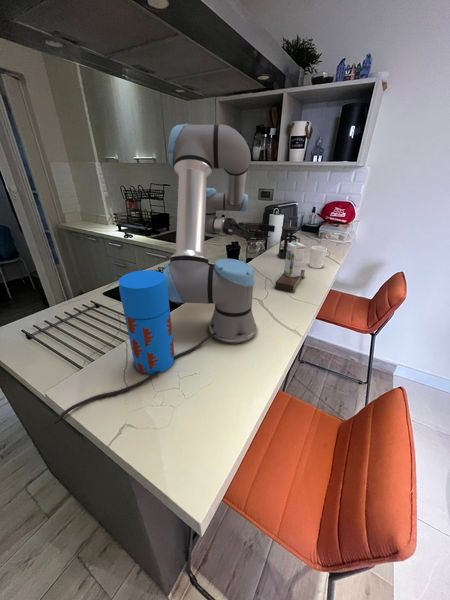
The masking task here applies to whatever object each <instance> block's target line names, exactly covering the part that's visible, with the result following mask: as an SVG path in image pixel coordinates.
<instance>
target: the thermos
mask: <svg viewBox="0 0 450 600" xmlns="http://www.w3.org/2000/svg"><path fill="white" fill-rule="evenodd" d="M118 289H119V295H120V300H121V305H122V310H123V315H124V319H125V324H126V329H127V334H128V339H129V344H130V349H131V353H132V358H133V361H134V365H135V368H136V369H137V370H138V372H141V374H145V375H152V374H154V373H155V372H156V371H160V372H159V373H158V374H160V373H163V372H165V371H167V370H168V369H170V368H171V367H172V365H173V364H174V361H175V359H174V356H175V348H174V347H175V346H174V337H173V328H172V327H173V326H172V319H171V309H170V300H169V298H168V288H167V282H166V278H165V275H164V274H163V272H161V271H157V270H149V269H145V270H143V269H142V270H136V271H132V272H128V273H126V274H124V275H122V276H121V277H119V279H118Z"/></svg>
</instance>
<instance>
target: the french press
mask: <svg viewBox="0 0 450 600" xmlns="http://www.w3.org/2000/svg"><path fill="white" fill-rule="evenodd" d="M287 218H288V219H289V220H290V222H289V225H284V226H281V229H282V232H283V233H284V234H281V235H280V240H279V247H278V254H277V257H278V258H280V259H282V260H286V253H287V246H288V243H292V242H297V240H298V242H299V243H300V242H301V237H297V235H294V234H296V233H297V232H298V230H299V227H297V226H293V225H291V224H292V220H293V219H295V218H296V216H294V215H289V216H287ZM282 241H283V243H282Z"/></svg>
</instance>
